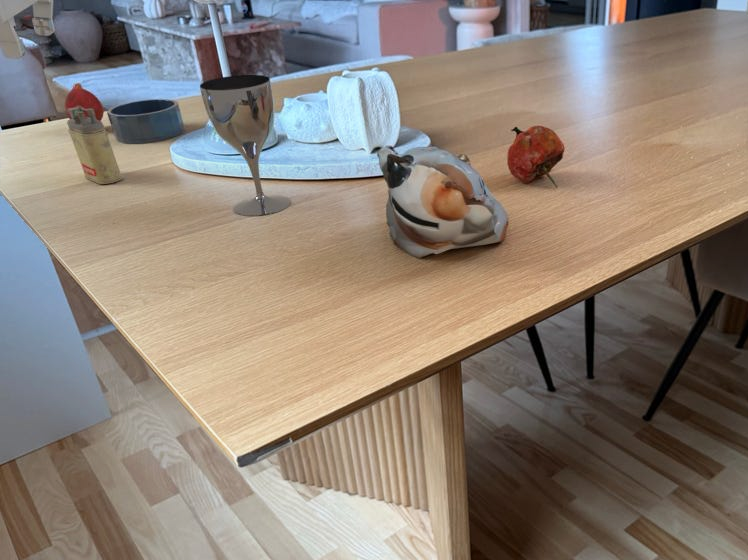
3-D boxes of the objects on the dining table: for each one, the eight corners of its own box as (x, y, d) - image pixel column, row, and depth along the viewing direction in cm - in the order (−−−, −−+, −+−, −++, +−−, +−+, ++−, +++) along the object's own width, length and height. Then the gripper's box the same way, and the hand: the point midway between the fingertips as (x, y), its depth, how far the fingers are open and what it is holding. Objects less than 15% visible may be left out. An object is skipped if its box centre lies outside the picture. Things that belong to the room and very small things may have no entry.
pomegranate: (570, 193, 95) (535, 136, 97) (588, 161, 88) (549, 99, 90) (524, 211, 92) (489, 151, 94) (539, 179, 85) (500, 116, 88)
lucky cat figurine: (532, 229, 79) (534, 139, 67) (468, 304, 75) (458, 223, 63) (429, 173, 84) (413, 78, 71) (364, 240, 80) (335, 152, 67)
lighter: (81, 177, 102) (55, 106, 97) (107, 170, 104) (83, 100, 99) (103, 186, 98) (77, 114, 93) (129, 179, 100) (105, 107, 95)
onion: (83, 137, 120) (66, 88, 116) (67, 132, 123) (50, 84, 119) (115, 128, 124) (100, 81, 120) (99, 124, 127) (83, 78, 123)
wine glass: (228, 200, 92) (198, 79, 83) (289, 190, 94) (266, 72, 85) (232, 221, 85) (200, 93, 77) (298, 210, 87) (273, 84, 79)
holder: (114, 147, 114) (105, 119, 112) (117, 130, 123) (109, 104, 121) (186, 137, 117) (178, 110, 115) (184, 121, 126) (177, 96, 124)
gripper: (3, -111, 80) (34, 19, 89) (-86, -87, 64) (-38, 68, 73) (63, -102, 81) (88, 25, 90) (-10, -77, 66) (28, 74, 74)
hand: (31, 44), depth 81 cm, fingers open, 8 cm apart
